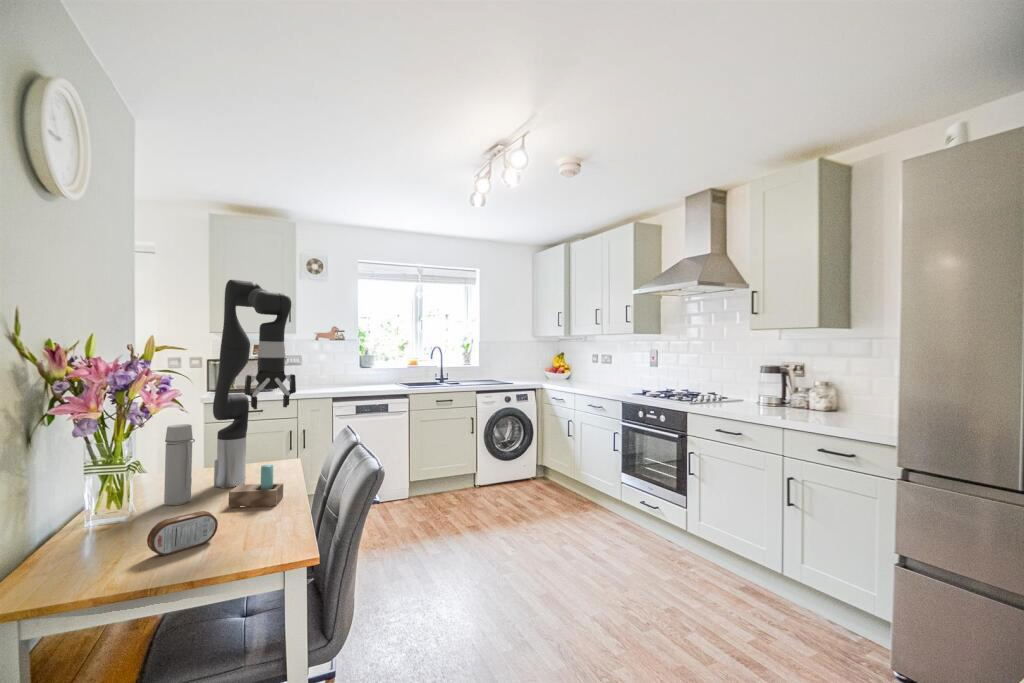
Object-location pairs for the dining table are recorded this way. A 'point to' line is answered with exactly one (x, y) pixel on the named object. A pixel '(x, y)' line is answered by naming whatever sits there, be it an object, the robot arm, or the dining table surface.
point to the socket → (255, 495)
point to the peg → (266, 477)
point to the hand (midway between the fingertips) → (270, 408)
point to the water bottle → (178, 464)
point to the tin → (182, 532)
